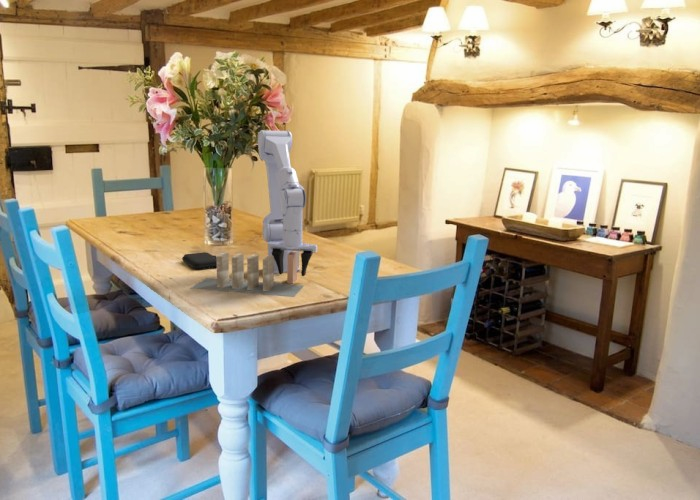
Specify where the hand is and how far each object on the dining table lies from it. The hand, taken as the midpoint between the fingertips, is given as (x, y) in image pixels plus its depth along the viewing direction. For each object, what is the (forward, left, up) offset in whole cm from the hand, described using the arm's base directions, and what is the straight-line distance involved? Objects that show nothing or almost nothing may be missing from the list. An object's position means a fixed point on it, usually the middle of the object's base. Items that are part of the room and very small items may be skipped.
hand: (292, 274), depth 172 cm
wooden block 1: (+13, 0, -2) cm, 13 cm away
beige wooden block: (+19, -6, -2) cm, 20 cm away
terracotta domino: (0, 0, -2) cm, 2 cm away
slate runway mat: (+14, -1, -2) cm, 14 cm away
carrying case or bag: (+15, -32, -3) cm, 35 cm away
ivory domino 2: (+16, -3, -2) cm, 16 cm away
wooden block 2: (+9, +3, -2) cm, 10 cm away
